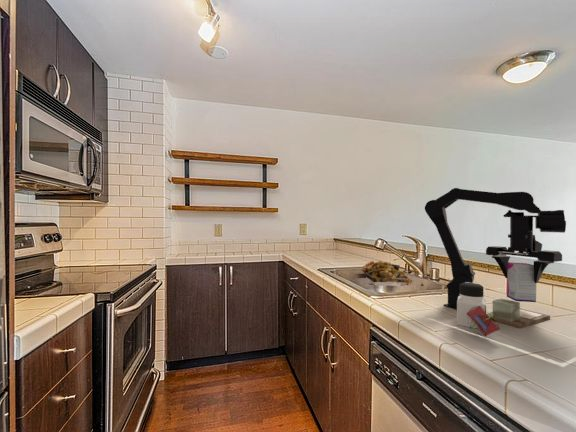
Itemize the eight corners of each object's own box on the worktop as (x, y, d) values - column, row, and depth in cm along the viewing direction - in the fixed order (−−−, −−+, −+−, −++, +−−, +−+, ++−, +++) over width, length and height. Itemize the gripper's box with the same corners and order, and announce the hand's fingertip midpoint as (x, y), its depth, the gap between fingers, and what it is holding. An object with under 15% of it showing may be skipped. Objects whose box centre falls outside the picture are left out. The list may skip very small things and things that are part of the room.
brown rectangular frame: (519, 328, 85) (519, 307, 85) (483, 317, 94) (483, 298, 94) (550, 318, 93) (550, 299, 93) (514, 309, 102) (513, 292, 102)
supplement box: (537, 302, 92) (537, 265, 92) (515, 301, 93) (515, 264, 93) (526, 297, 98) (526, 262, 98) (505, 296, 99) (506, 261, 99)
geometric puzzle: (504, 334, 79) (498, 303, 80) (498, 341, 74) (492, 308, 75) (473, 331, 84) (468, 302, 85) (466, 338, 79) (461, 307, 80)
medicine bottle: (486, 330, 84) (486, 287, 84) (456, 325, 87) (456, 284, 87) (485, 322, 90) (485, 282, 90) (458, 318, 93) (458, 280, 94)
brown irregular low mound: (353, 273, 173) (353, 255, 173) (398, 274, 172) (398, 255, 172) (369, 288, 138) (369, 264, 138) (425, 288, 137) (425, 265, 137)
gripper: (570, 232, 91) (570, 283, 91) (503, 229, 107) (502, 273, 107) (553, 233, 86) (552, 287, 86) (485, 230, 102) (484, 276, 102)
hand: (521, 280), depth 95 cm, fingers closed on supplement box, 8 cm apart
